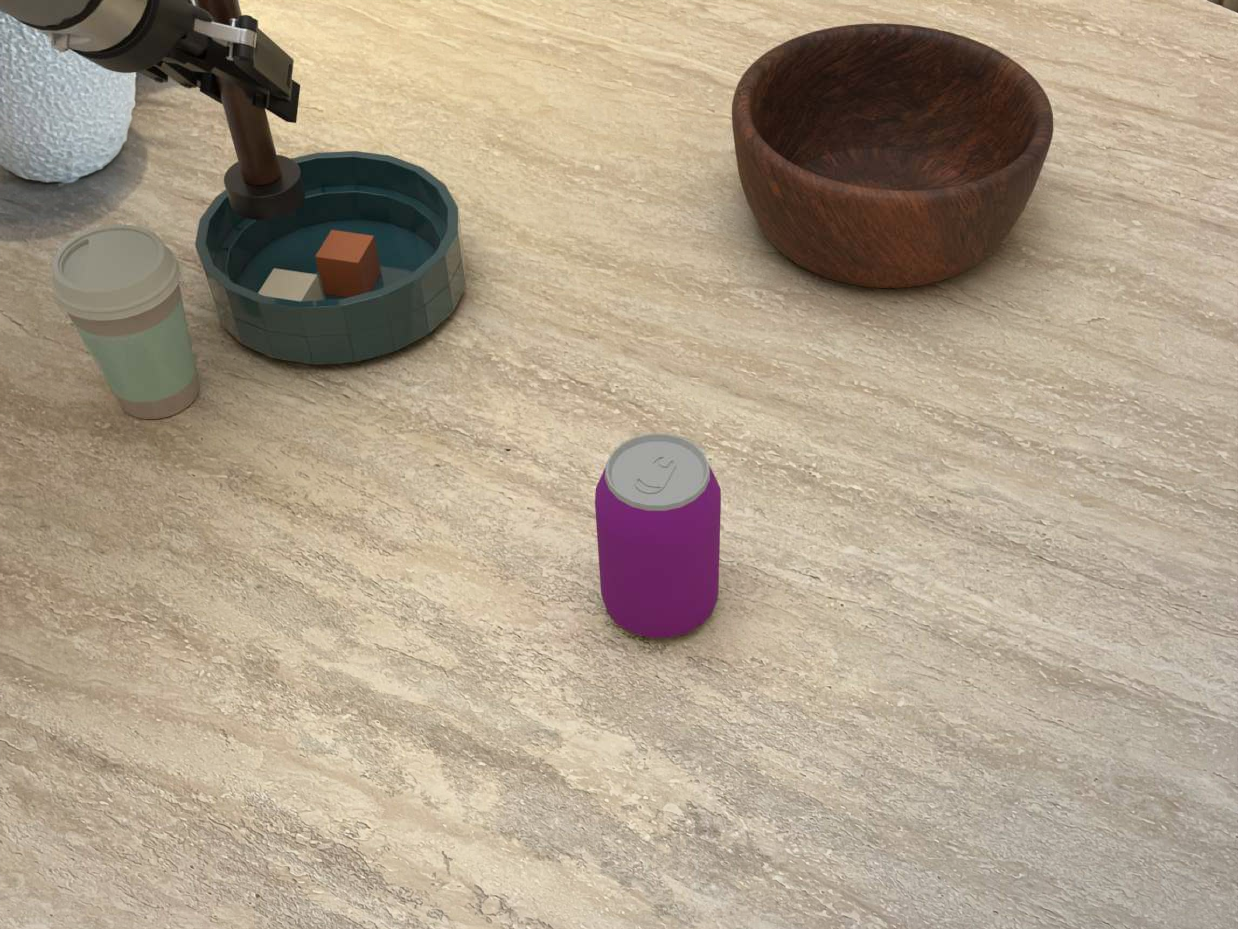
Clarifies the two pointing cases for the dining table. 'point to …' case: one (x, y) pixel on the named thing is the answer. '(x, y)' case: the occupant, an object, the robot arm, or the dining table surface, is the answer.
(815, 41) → the wooden bowl
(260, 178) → the muddler
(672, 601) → the beverage can
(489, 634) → the dining table surface
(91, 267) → the coffee cup
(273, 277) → the cream block
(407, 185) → the stir bowl
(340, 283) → the terracotta block
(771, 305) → the dining table surface
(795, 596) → the dining table surface
